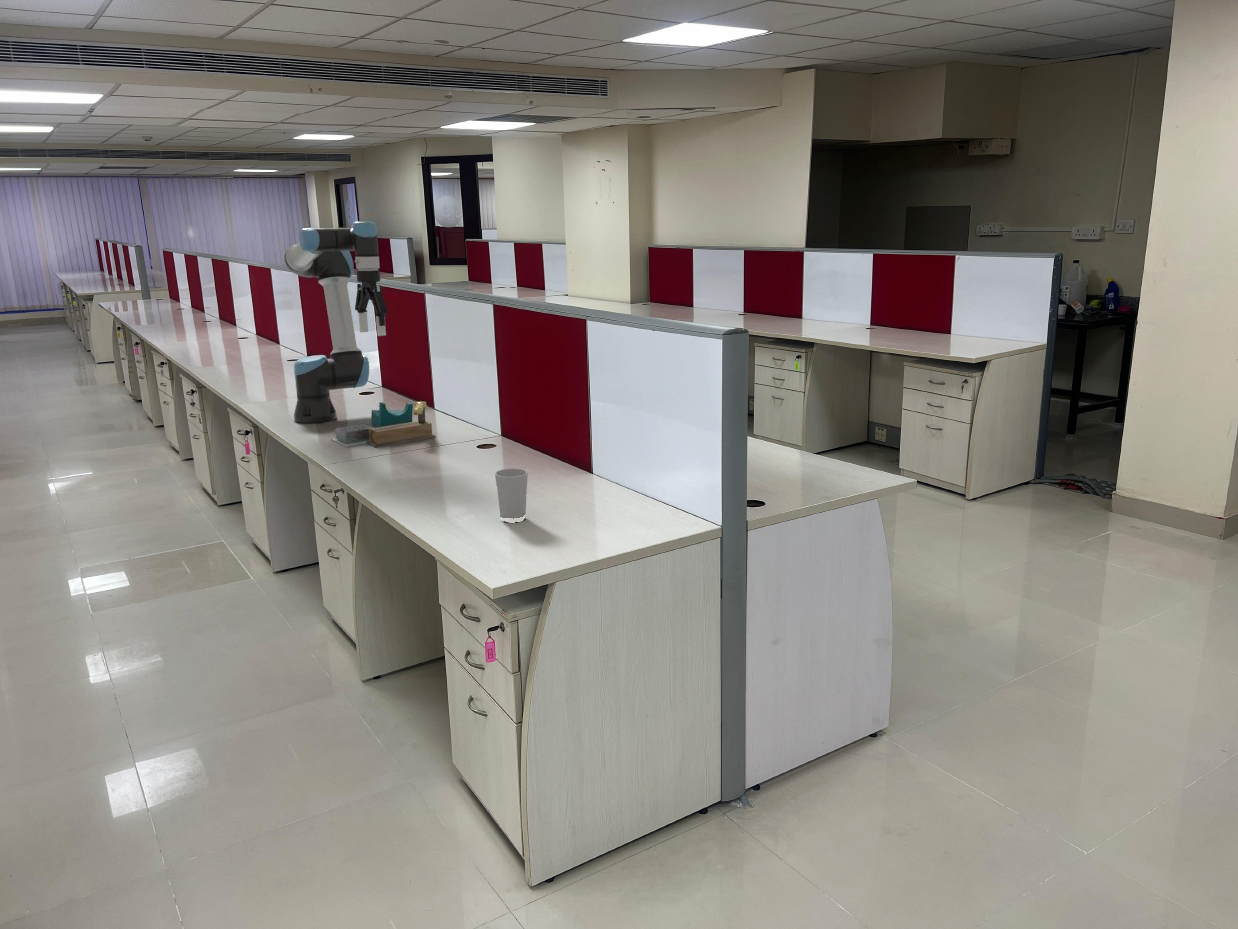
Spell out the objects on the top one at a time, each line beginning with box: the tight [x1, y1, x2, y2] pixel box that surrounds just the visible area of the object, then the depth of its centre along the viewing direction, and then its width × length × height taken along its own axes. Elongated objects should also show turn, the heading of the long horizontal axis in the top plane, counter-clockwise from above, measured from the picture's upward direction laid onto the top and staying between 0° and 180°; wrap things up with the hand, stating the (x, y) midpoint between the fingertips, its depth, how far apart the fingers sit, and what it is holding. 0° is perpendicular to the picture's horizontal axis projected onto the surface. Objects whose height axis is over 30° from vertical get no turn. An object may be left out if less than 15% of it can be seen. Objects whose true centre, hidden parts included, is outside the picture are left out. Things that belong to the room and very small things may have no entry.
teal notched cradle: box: [370, 401, 414, 428], centre depth 316 cm, size 18×11×10 cm, turn 25°
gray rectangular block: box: [335, 423, 374, 444], centre depth 298 cm, size 8×10×4 cm
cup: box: [494, 467, 529, 519], centre depth 217 cm, size 8×8×12 cm
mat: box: [331, 438, 370, 448], centre depth 299 cm, size 12×12×1 cm
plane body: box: [365, 409, 437, 448], centre depth 298 cm, size 7×22×10 cm, turn 130°
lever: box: [413, 401, 427, 416], centre depth 296 cm, size 4×13×2 cm, turn 7°
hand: (372, 333), depth 300 cm, fingers open, 13 cm apart
